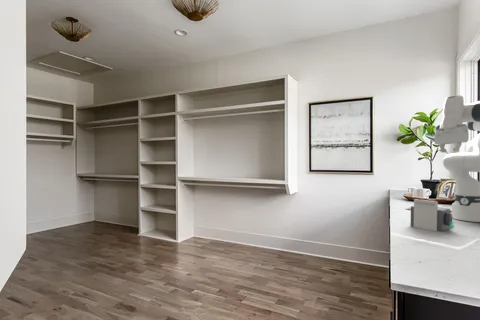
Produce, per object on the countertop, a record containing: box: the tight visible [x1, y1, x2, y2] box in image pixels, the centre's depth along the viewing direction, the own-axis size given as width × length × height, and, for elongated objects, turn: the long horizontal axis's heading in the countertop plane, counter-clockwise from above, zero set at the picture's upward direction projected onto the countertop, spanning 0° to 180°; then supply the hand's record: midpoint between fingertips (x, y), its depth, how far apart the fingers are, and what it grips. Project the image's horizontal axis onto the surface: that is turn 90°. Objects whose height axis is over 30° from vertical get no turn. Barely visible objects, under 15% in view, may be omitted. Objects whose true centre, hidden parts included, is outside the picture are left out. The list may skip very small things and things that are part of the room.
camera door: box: [413, 198, 439, 232], centre depth 140 cm, size 2×10×14 cm, turn 36°
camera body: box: [410, 205, 453, 233], centre depth 143 cm, size 9×16×11 cm, turn 36°
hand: (449, 152), depth 151 cm, fingers open, 8 cm apart
